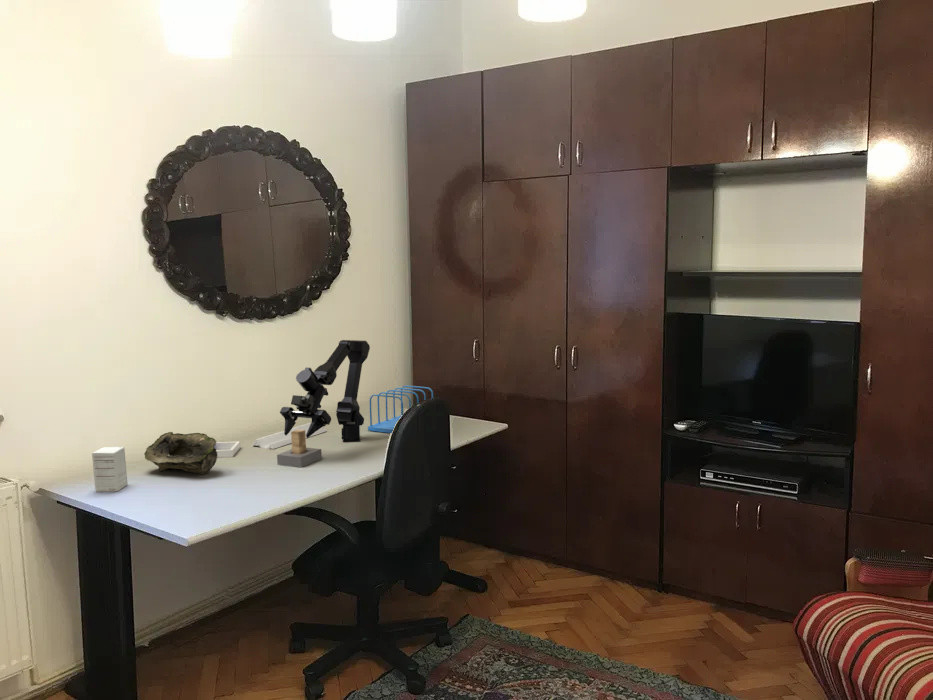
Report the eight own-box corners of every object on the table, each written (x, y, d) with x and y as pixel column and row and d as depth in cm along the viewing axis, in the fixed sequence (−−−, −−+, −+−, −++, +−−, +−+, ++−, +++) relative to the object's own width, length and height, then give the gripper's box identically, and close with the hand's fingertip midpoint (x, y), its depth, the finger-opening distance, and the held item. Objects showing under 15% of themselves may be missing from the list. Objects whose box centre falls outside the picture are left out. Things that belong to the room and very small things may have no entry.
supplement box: (105, 485, 256) (102, 446, 255) (128, 484, 256) (125, 446, 255) (94, 492, 249) (91, 452, 248) (117, 491, 249) (114, 452, 247)
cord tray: (240, 447, 301) (239, 441, 300) (232, 456, 288) (232, 450, 287) (205, 449, 300) (204, 442, 300) (196, 458, 287) (195, 451, 287)
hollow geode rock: (218, 489, 265) (239, 450, 272) (195, 470, 256) (218, 431, 263) (160, 476, 278) (182, 440, 286) (136, 458, 269) (160, 421, 276)
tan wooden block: (299, 457, 281) (298, 429, 280) (306, 457, 280) (305, 430, 279) (292, 459, 278) (291, 431, 276) (299, 460, 276) (298, 432, 275)
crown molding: (273, 451, 297) (272, 441, 297) (249, 448, 303) (248, 438, 303) (326, 433, 324) (326, 424, 324) (304, 430, 330) (303, 421, 330)
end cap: (298, 456, 287) (298, 446, 286) (321, 458, 282) (321, 449, 282) (277, 464, 276) (276, 454, 275) (301, 467, 272) (300, 457, 271)
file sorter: (403, 435, 315) (402, 397, 313) (367, 431, 323) (366, 394, 321) (435, 422, 337) (434, 386, 335) (401, 419, 345) (400, 384, 343)
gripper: (281, 384, 283) (262, 421, 275) (324, 387, 275) (307, 425, 267) (296, 402, 291) (278, 438, 283) (338, 405, 283) (322, 442, 275)
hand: (296, 435), depth 277 cm, fingers open, 9 cm apart
